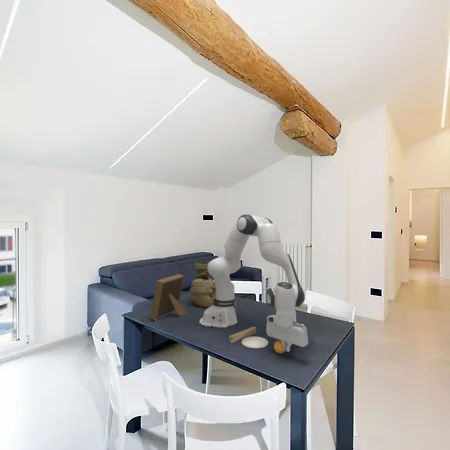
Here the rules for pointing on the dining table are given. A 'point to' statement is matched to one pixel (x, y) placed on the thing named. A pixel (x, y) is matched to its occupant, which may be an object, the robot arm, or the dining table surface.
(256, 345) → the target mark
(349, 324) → the dining table surface
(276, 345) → the ball
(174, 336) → the dining table surface
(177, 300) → the photo frame
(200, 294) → the ceramic vessel
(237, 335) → the bar
